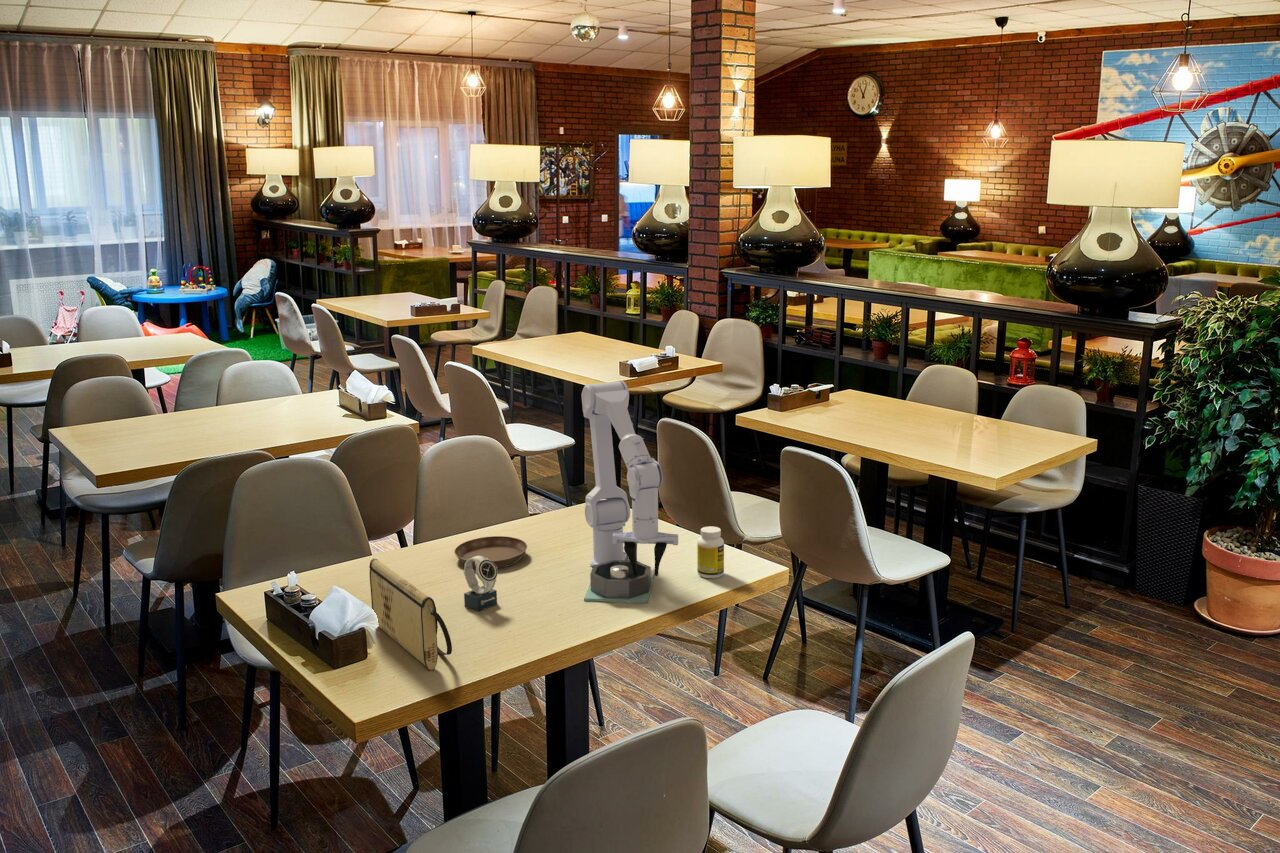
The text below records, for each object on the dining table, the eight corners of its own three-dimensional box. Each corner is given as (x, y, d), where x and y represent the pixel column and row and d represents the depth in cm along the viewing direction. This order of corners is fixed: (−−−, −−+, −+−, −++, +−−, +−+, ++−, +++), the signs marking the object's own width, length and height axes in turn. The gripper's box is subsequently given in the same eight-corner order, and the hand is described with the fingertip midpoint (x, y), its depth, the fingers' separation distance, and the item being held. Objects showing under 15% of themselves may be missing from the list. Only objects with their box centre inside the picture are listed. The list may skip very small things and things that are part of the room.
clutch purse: (462, 666, 203) (458, 592, 199) (429, 676, 199) (424, 601, 196) (400, 616, 226) (395, 550, 223) (368, 624, 223) (363, 557, 219)
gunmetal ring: (596, 576, 246) (596, 559, 245) (652, 577, 244) (652, 561, 244) (588, 597, 233) (587, 580, 232) (646, 599, 232) (646, 581, 231)
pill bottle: (722, 580, 244) (722, 534, 241) (695, 578, 245) (695, 533, 243) (725, 570, 250) (725, 525, 247) (699, 569, 251) (699, 524, 249)
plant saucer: (471, 577, 248) (470, 565, 248) (444, 555, 263) (443, 544, 263) (539, 563, 257) (539, 551, 256) (509, 542, 272) (509, 531, 271)
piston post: (612, 583, 241) (611, 565, 240) (629, 584, 241) (629, 565, 240) (609, 590, 237) (609, 571, 236) (627, 590, 237) (627, 571, 236)
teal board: (593, 577, 247) (593, 575, 246) (653, 579, 245) (653, 576, 245) (584, 600, 233) (583, 598, 233) (647, 602, 232) (647, 600, 231)
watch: (484, 613, 227) (481, 565, 224) (459, 604, 232) (456, 557, 230) (503, 605, 231) (501, 557, 229) (478, 597, 236) (476, 550, 234)
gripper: (610, 521, 231) (611, 579, 234) (676, 522, 230) (677, 581, 233) (614, 511, 238) (615, 568, 241) (678, 512, 237) (679, 569, 240)
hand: (645, 574), depth 238 cm, fingers open, 4 cm apart
